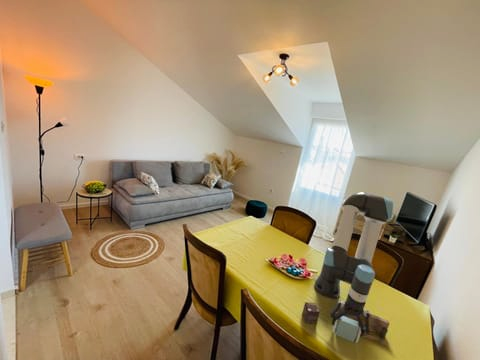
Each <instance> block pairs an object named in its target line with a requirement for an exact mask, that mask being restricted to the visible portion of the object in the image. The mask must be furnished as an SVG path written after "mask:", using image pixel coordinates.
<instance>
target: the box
mask: <svg viewBox="0 0 480 360" xmlns="http://www.w3.org/2000/svg"><path fill="white" fill-rule="evenodd" d="M320 313H321V311H320V309H319V307H318V304H317V302H307V301H304V305H303V310H302V316H303V319H304V321H305V323H306V324H315V325H316V324H317V323H318V320H319V316H320Z"/></svg>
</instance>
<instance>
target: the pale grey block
mask: <svg viewBox="0 0 480 360" xmlns="http://www.w3.org/2000/svg"><path fill="white" fill-rule="evenodd" d="M337 322H338V323H337V325H336V328H335V335H336V336H338V337H340V338H343V339H344V340H347V341H349V342H352V343H354V342H355V337H356V334H357V331H358V328H359V327H360V326H358V321H355V320H353V319H350V318H348V317H345V316H342V317H341V318H339V320H337Z"/></svg>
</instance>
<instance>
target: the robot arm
mask: <svg viewBox="0 0 480 360" xmlns="http://www.w3.org/2000/svg"><path fill="white" fill-rule="evenodd" d="M341 209H342V214H341V217H340V220H339V224H338V227H337V230H336V233H335V235H334V239H333V243H332V246H331V248H330V247H328V248H327V249H326V251H325V254H324V258H323V263H322V267H321V271H320V274H319V275H318V276H317V278H316V279H315V281H314V285H313V286H314V288H315V290H316V292H318V293H319V294H321V295H322V296H324V297H326V298H328V299H329V298H330V299H336V298H339V296H340V294H341V285H340V284H341V283H340V282H343V283H346V284H348V285H350V287H349V290H348V294H347V297H346V300H345V301H341V299H337V303H336V305H335V306H334V307H333V309H332V310H331V311H330V312H329V318H330V319H332V320H331V326H332V327H331V331H332V332H331V333H333V334H334V333H335V332H336V327H337V322H338V319H339V318H341V317H342V316H344V315H345V314H351V315H353V316H357V319H358V322H359V325H360V326H359V328H358V331H357V334H356V336H355V339H354V341H355V343H356V344H358V342H359V339H360V338H362V337H363V334H364V333H366V334H369V333H370V330H369V317H370V314H371V313H370V311H369V310H365V309H364V308H365V306H366V305H365V304H366V302H367V299H368V296H369V293H370V291H371V287H372V285H373V282H374V281H375V276H376V272H375V270H374V269H373V264H372V261H373V257H374V254H375V250H376V247H377V244H378V240H379V236H380V234H381V230H382V227H383V225H385V224H387V222H388V221H391V220H392V217H393V212H394V202H393V200H391V199H390V198H387V197H384V196H378V195H376V194H375V195H374V194H371V193H370V194H369V193H367V192H356V193H354V194H351V195H350V196H348V198H347V199H346V200H344V202H343V204H342V208H341ZM361 213H362V214H363V218H364V220H365V221H364V225H363V227H362V230H361V235H360V238H359V241H358V244H357V248H356V252H355V254H354V255H355V256H351V255H348V254H347V253H348V250H349V246H350V243H351V238H352V235H353V231H354V228H355V224H356V220H357V216H359V215H360V214H361ZM342 306H344V308H343V309H342V310H341V311H339V312H338V313H337V311H338V310H339V309H340V307H342ZM362 313H364V316H365V327H363V324H362V321H361V318H360V314H362Z"/></svg>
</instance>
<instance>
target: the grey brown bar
mask: <svg viewBox="0 0 480 360" xmlns="http://www.w3.org/2000/svg"><path fill="white" fill-rule="evenodd" d="M343 308H344V306H342V307H340V309H339V310H338V311H337V313H338V312H339V311H341V310H342V309H343ZM344 316H345V317H348V318H350V319H353V320H355V321H358V319H357V316H353V315H351V314H345V315H344ZM360 318H361V321H362V324H363V327H365V316H364V313H362V314H360ZM338 320H339V319H338ZM338 320H337V323H338ZM390 324H391V323H390V320H388V319H386V318H383V317H380V316H378V315H375V314H372V313H370V317H369V332H370V331H371V332H373V333H376V334H378V335H380V336H379V337H380V338H381V339H380V338H379V337H375V336H374V335H371V334H369V333H367V332H365V333H364V334H363V336H362V337H363V338H366V339H369V340H371V341H373V342H376V343H378V344H380V345H382V346H385V347H388V346H389V342H388V341H385V340H384V339H386V336H387V333H388V331H389V330H388V329H389V326H390ZM358 326H359V327H360V325H359V322H358Z"/></svg>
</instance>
